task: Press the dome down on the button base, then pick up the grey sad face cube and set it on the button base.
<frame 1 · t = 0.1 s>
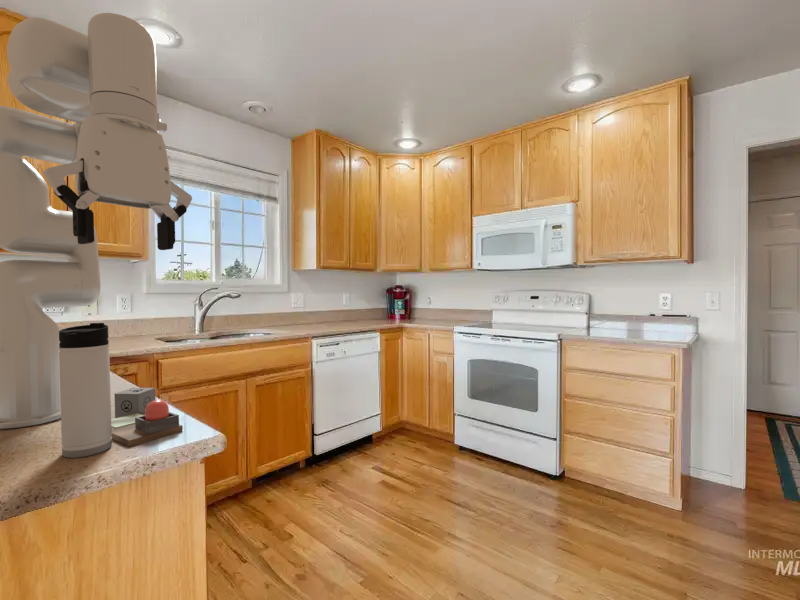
hand: (128, 246, 55), 31 cm above the countertop, tool pointing down, fingers open, 9 cm apart
travel mug: (88, 451, 65), on the countertop
button base: (137, 430, 74), on the countertop
dome: (157, 410, 72), point 4 cm above the countertop, slide at 0.0 cm
grey sad face cube: (136, 415, 83), on the countertop, touching button base
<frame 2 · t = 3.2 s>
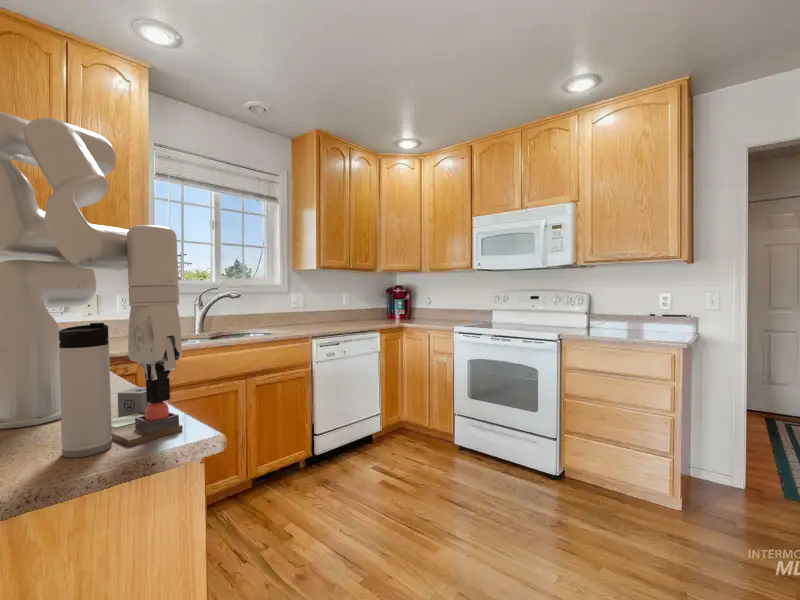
hand: (158, 400, 72), 6 cm above the countertop, tool pointing down, fingers closed
dome: (157, 411, 72), point 4 cm above the countertop, slide at 0.2 cm, touching gripper
grey sad face cube: (139, 415, 84), on the countertop
everything else where it was.
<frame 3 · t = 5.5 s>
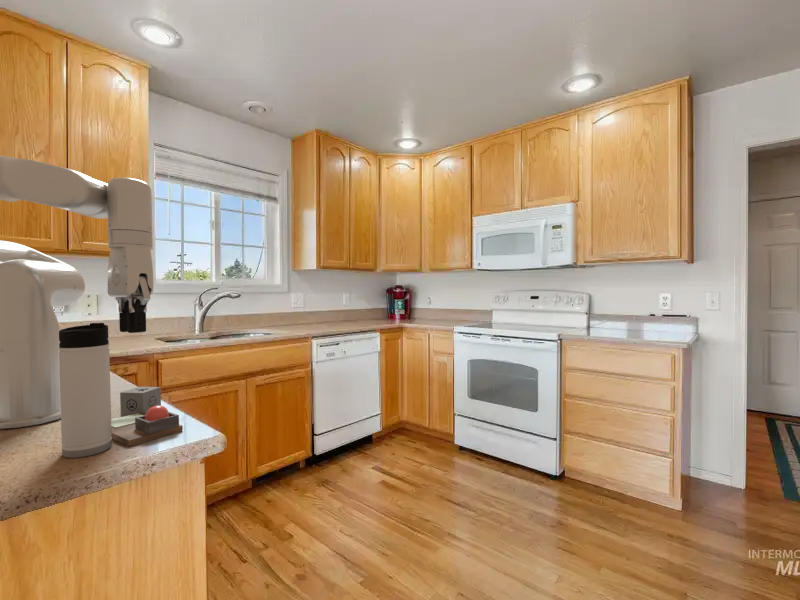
hand: (132, 331, 83), 17 cm above the countertop, tool pointing down, fingers closed
dome: (157, 416, 72), point 3 cm above the countertop, slide at 1.0 cm
everything else where it was.
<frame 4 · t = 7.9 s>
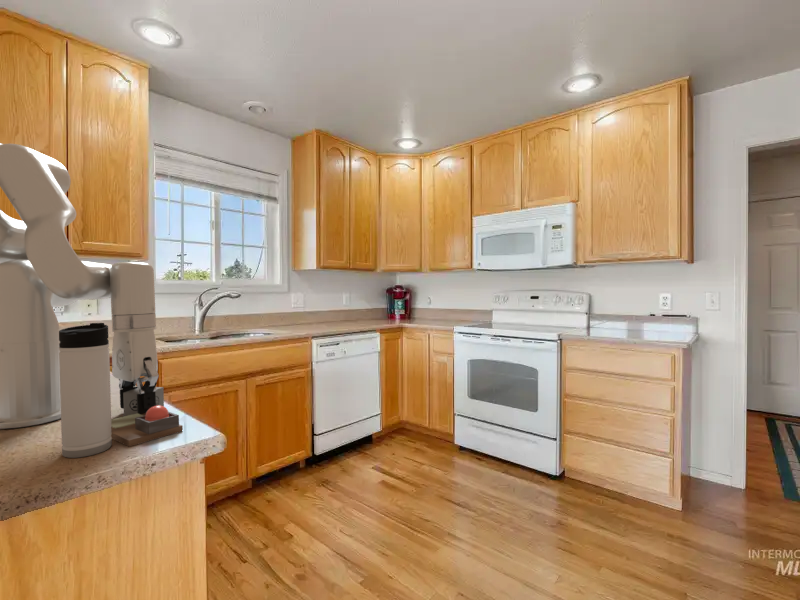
hand: (138, 409, 83), 1 cm above the countertop, tool pointing down, fingers open, 7 cm apart
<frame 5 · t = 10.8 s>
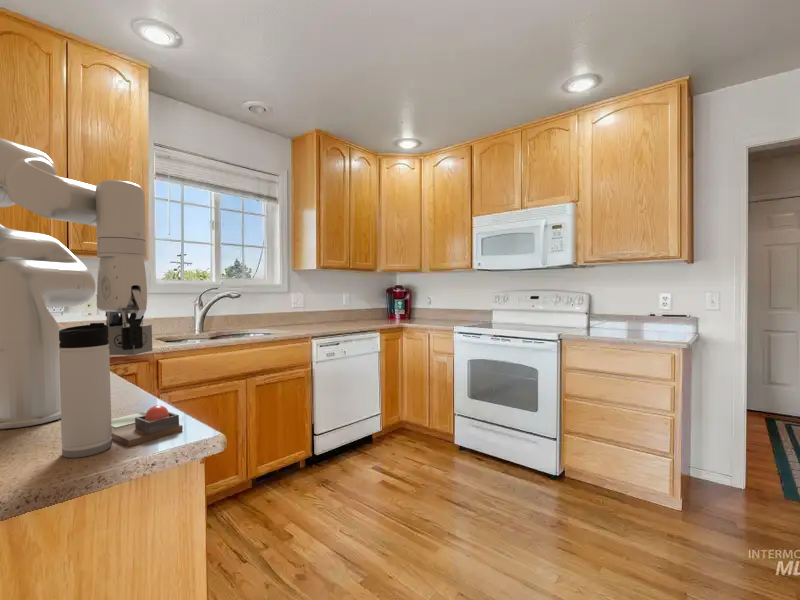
hand: (125, 346, 76), 15 cm above the countertop, tool pointing down, fingers closed on grey sad face cube, 5 cm apart
grey sad face cube: (130, 353, 76), point 13 cm above the countertop, touching gripper
everything else where it was.
when the fingers open (3 cm above the countertop, at t = 13.3 s): grey sad face cube stays where it is, resting on button base.
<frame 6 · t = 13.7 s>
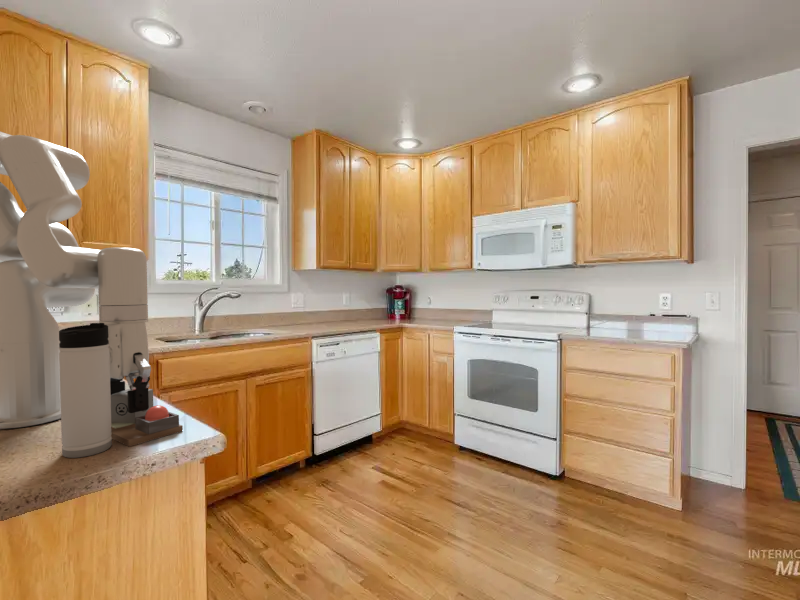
hand: (126, 407, 76), 4 cm above the countertop, tool pointing down, fingers open, 9 cm apart
grey sad face cube: (132, 419, 77), point 1 cm above the countertop, touching button base
everything else where it was.
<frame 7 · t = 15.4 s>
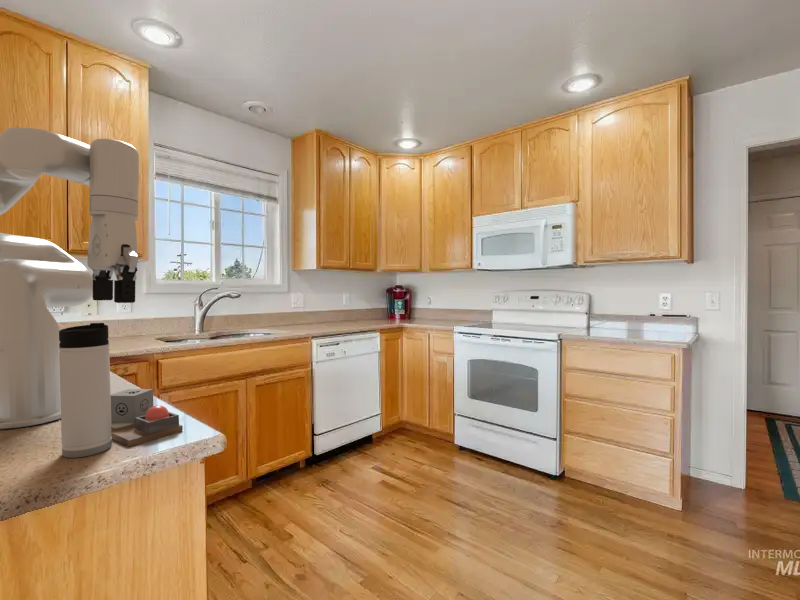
hand: (113, 301, 76), 23 cm above the countertop, tool pointing down, fingers open, 9 cm apart
nothing on the countertop moved.
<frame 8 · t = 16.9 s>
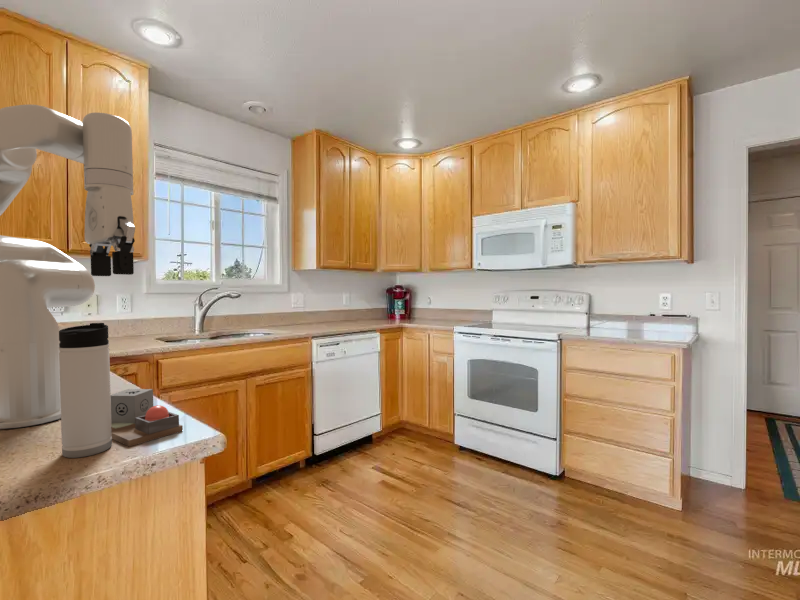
hand: (111, 275, 77), 28 cm above the countertop, tool pointing down, fingers open, 9 cm apart
nothing on the countertop moved.
at the end: dome slide at 1.0 cm; grey sad face cube 0.9 cm from the target spot, point 1.0 cm above the countertop; the gripper is holding nothing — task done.
